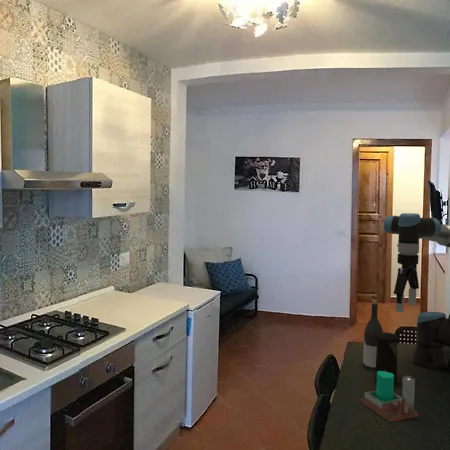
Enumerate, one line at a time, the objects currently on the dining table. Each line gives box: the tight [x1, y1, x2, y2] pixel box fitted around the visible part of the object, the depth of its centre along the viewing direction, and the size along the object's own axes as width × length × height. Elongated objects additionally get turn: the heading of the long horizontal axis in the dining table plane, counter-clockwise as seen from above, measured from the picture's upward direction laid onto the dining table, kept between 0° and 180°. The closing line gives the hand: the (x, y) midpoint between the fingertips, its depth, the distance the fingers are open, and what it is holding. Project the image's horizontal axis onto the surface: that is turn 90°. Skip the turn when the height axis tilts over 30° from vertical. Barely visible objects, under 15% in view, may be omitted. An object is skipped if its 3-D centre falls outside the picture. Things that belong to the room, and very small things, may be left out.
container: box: [374, 331, 400, 386], centre depth 195 cm, size 9×9×20 cm
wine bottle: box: [362, 299, 384, 372], centre depth 210 cm, size 8×8×30 cm
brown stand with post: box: [360, 375, 420, 423], centre depth 171 cm, size 12×16×14 cm
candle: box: [376, 370, 395, 401], centre depth 173 cm, size 6×6×12 cm
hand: (406, 308), depth 185 cm, fingers open, 13 cm apart
